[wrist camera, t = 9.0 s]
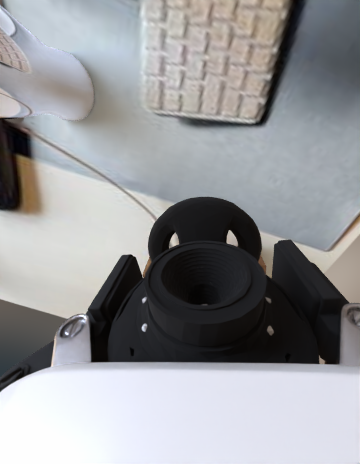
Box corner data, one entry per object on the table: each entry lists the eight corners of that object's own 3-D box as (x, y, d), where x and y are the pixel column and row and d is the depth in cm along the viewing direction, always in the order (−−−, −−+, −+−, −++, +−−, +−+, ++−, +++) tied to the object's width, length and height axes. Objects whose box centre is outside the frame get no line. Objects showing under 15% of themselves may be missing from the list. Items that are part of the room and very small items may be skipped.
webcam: (266, 189, 11) (554, 431, 2) (254, 284, 14) (342, 523, 6) (139, 198, 12) (-32, 386, 3) (157, 284, 15) (101, 488, 7)
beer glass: (109, 78, 19) (-86, -43, 6) (85, 138, 22) (-80, 145, 9) (45, 26, 18) (-396, -284, 5) (28, 98, 21) (-266, 36, 8)
